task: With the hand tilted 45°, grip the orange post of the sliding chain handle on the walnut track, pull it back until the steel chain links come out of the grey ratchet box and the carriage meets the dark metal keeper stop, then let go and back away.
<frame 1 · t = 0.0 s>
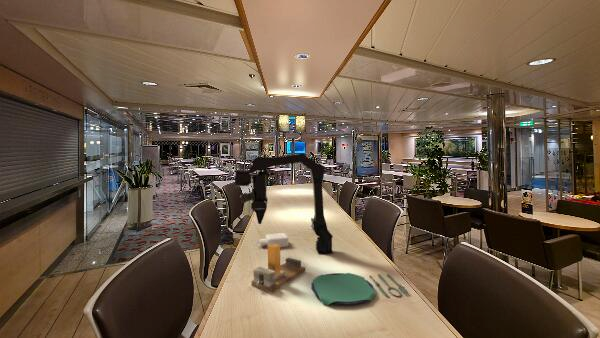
hand: (260, 221, 120), 15 cm above the table, tool pointing down, fingers open, 9 cm apart
cutlery set: (357, 291, 88), on the table
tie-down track: (279, 277, 97), on the table
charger: (271, 246, 133), on the table
chain handle: (268, 263, 92), point 7 cm above the table, slide at 3.0 cm
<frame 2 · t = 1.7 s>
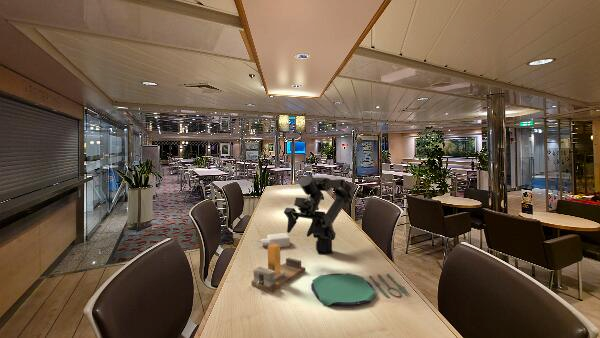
hand: (297, 234, 105), 13 cm above the table, tool tilted 45°, fingers open, 9 cm apart
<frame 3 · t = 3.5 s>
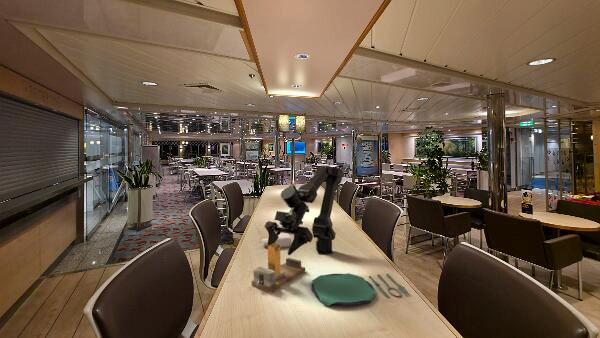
hand: (277, 252, 96), 10 cm above the table, tool tilted 45°, fingers open, 9 cm apart
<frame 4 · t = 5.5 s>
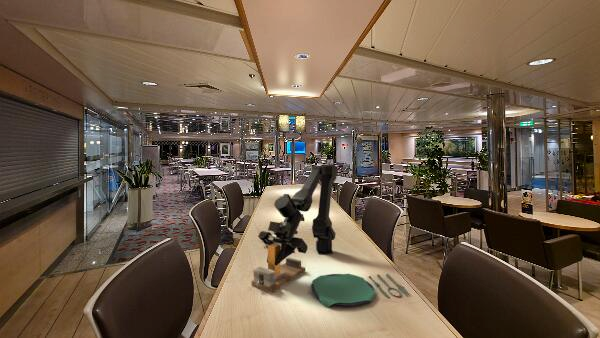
hand: (271, 263, 93), 7 cm above the table, tool tilted 45°, fingers closed on chain handle, 3 cm apart
chain handle: (268, 263, 92), point 7 cm above the table, slide at 3.0 cm, touching gripper
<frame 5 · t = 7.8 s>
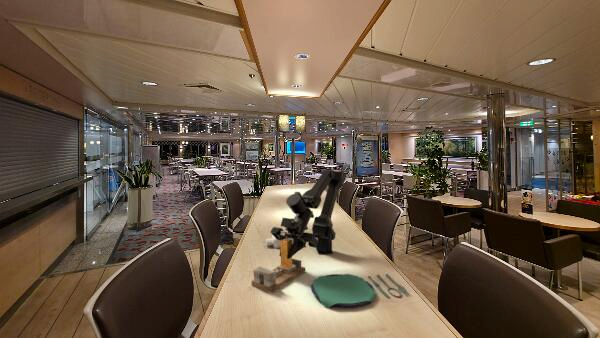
hand: (284, 257, 99), 7 cm above the table, tool tilted 45°, fingers closed on chain handle, 3 cm apart
chain handle: (281, 257, 97), point 7 cm above the table, slide at -4.0 cm, touching gripper
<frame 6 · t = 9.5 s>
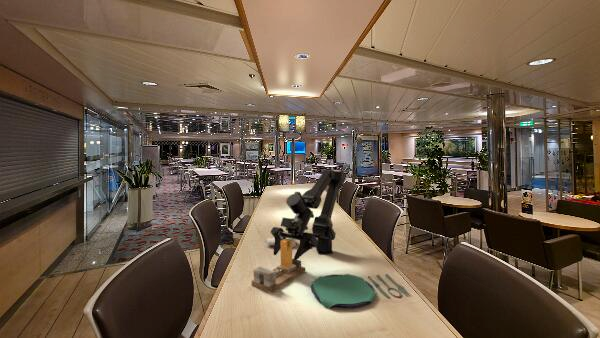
hand: (284, 257, 99), 7 cm above the table, tool tilted 45°, fingers open, 9 cm apart
chain handle: (281, 257, 97), point 7 cm above the table, slide at -4.0 cm
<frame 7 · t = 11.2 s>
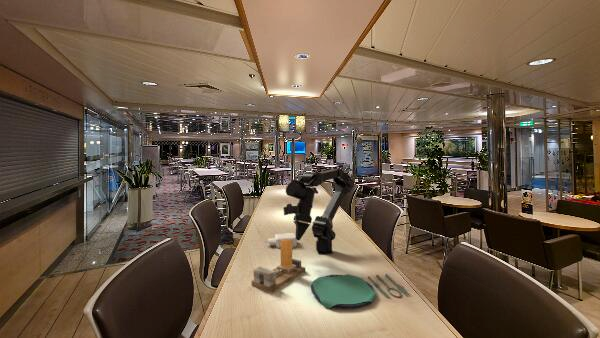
hand: (297, 239, 110), 9 cm above the table, tool tilted 20°, fingers open, 9 cm apart
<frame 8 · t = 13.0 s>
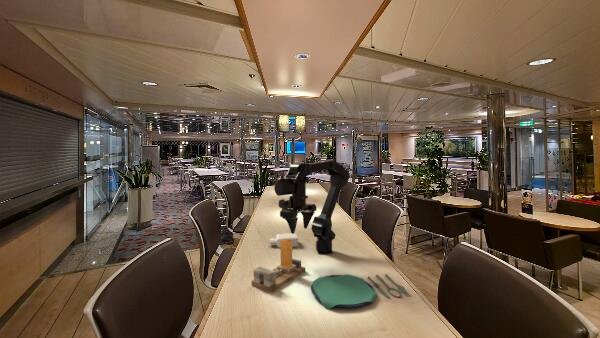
hand: (299, 230, 113), 12 cm above the table, tool pointing down, fingers open, 9 cm apart
at the end: chain handle slide at -4.0 cm; the gripper is holding nothing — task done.
